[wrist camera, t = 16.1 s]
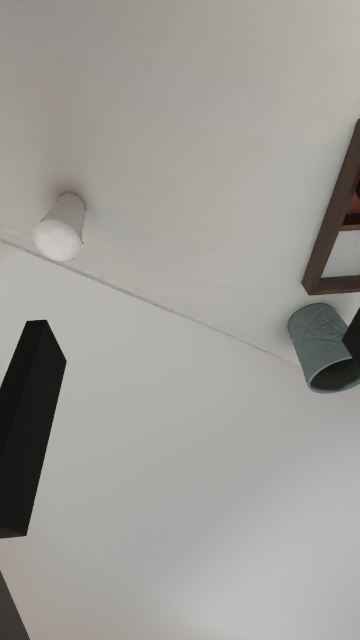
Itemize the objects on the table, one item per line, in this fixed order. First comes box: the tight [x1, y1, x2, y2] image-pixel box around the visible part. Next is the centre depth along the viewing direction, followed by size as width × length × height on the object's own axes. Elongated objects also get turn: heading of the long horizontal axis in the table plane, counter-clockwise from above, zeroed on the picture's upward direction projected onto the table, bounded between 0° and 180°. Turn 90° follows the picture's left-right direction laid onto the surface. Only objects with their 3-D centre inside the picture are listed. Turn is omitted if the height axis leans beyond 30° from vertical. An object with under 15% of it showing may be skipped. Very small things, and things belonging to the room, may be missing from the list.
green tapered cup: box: [288, 303, 360, 394], centre depth 49 cm, size 10×10×12 cm
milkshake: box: [33, 192, 86, 261], centre depth 31 cm, size 5×5×10 cm
